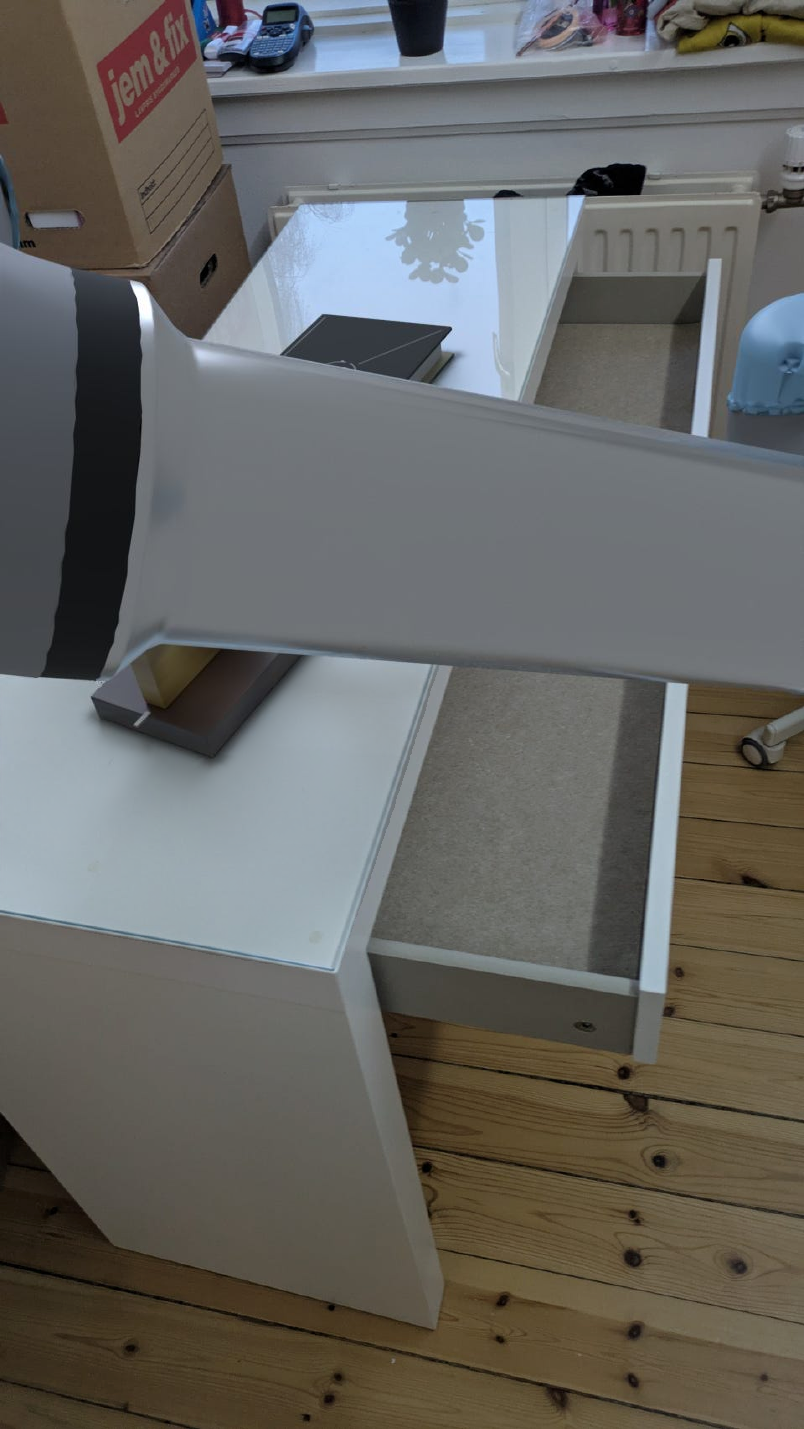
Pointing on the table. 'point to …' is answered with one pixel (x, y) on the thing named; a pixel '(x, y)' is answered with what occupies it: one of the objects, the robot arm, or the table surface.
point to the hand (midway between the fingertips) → (250, 493)
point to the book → (374, 346)
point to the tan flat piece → (169, 670)
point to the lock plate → (197, 699)
